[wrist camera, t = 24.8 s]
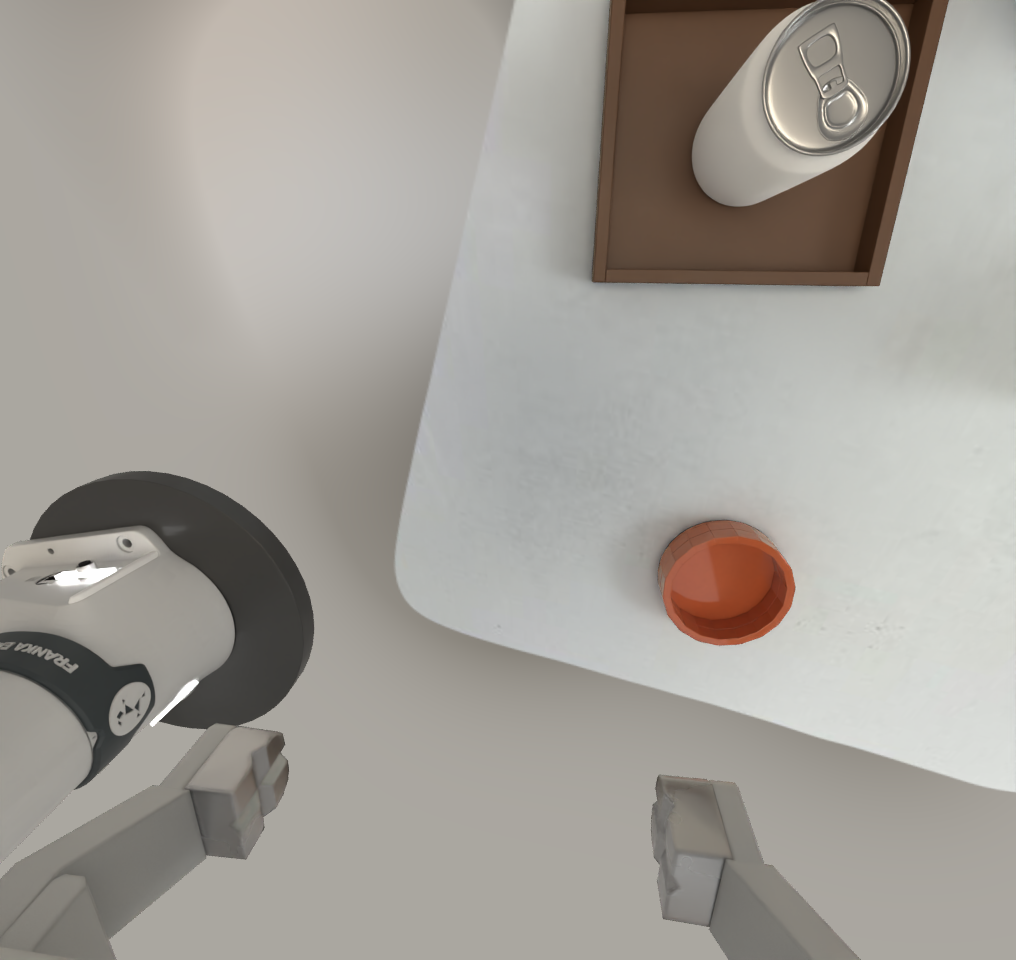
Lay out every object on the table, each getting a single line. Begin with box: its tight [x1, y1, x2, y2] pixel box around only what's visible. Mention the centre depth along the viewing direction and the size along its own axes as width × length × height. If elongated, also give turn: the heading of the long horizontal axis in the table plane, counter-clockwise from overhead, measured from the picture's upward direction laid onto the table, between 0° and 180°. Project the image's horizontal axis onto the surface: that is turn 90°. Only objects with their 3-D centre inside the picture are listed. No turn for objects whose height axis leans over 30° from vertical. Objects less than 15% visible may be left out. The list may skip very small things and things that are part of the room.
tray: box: [592, 0, 949, 286], centre depth 32 cm, size 18×16×2 cm
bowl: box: [658, 520, 795, 646], centre depth 42 cm, size 10×10×3 cm
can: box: [692, 0, 911, 207], centre depth 27 cm, size 6×6×12 cm
